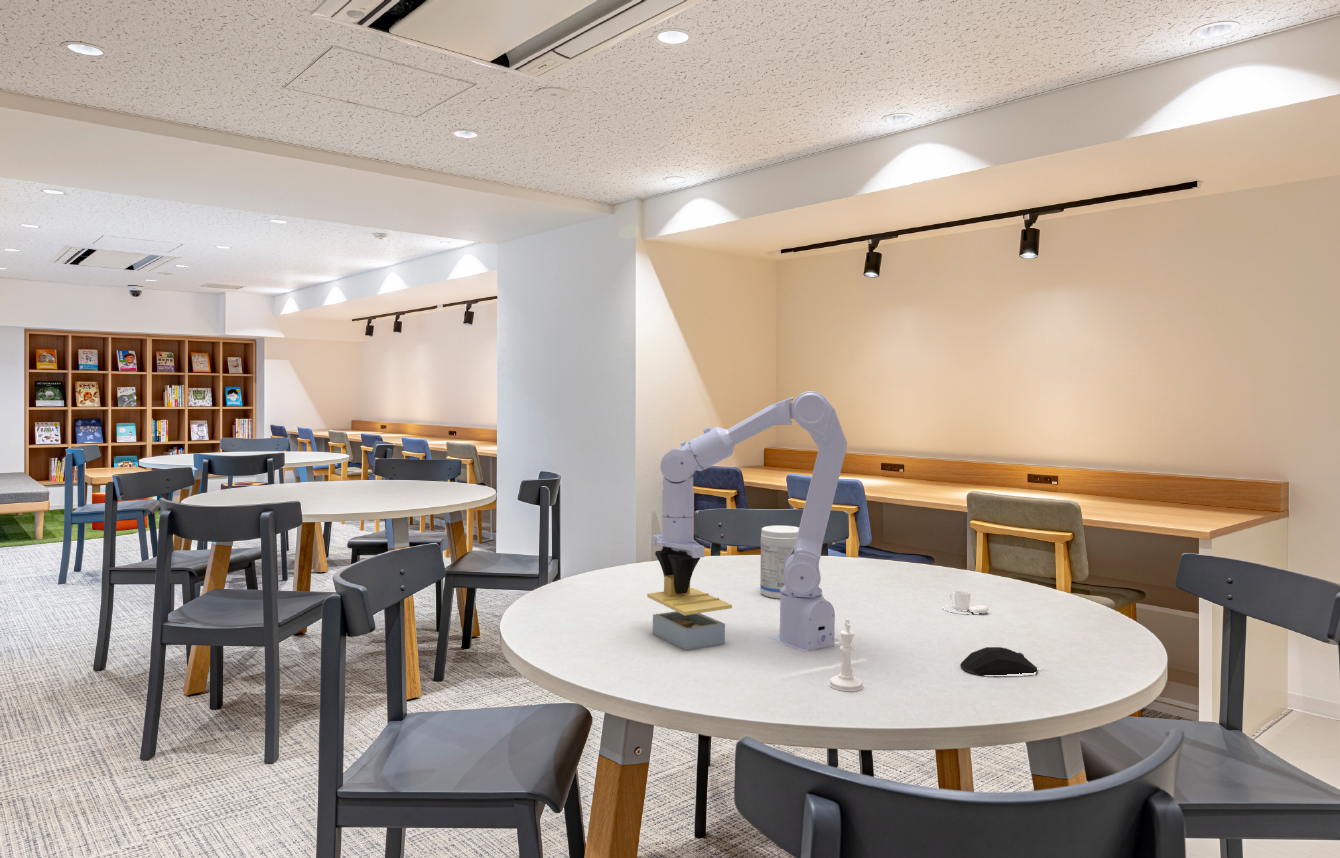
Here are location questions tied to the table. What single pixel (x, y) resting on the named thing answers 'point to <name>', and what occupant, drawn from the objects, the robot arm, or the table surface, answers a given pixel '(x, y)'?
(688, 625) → the walnut block
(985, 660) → the gaming mouse
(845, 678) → the chess piece
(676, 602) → the lid
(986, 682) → the table surface
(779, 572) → the supplement tub
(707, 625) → the parts tub
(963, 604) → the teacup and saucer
